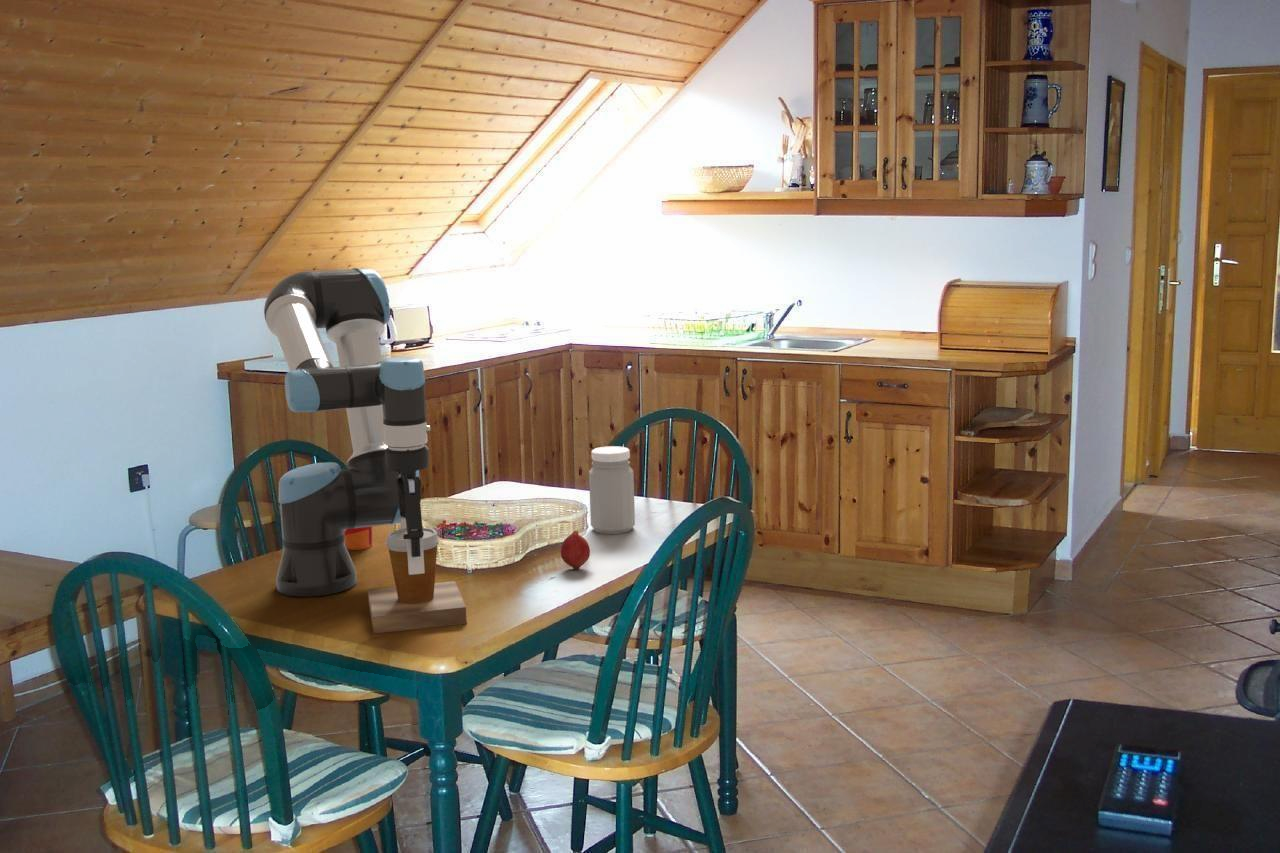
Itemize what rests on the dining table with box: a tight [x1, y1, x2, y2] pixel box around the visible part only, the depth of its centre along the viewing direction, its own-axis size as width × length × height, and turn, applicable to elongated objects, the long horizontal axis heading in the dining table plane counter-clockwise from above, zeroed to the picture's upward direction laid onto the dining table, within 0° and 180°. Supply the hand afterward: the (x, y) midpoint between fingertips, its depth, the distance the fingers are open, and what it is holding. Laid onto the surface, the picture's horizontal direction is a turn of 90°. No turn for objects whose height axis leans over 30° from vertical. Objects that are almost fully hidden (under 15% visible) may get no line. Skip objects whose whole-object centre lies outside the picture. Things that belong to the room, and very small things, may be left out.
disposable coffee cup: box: [384, 527, 441, 604], centre depth 232 cm, size 10×10×12 cm
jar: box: [588, 445, 636, 535], centre depth 286 cm, size 10×10×18 cm
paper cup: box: [344, 526, 373, 551], centre depth 278 cm, size 8×8×14 cm
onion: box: [560, 529, 591, 570], centre depth 258 cm, size 6×6×8 cm
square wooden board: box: [367, 580, 468, 634], centre depth 233 cm, size 16×16×3 cm
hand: (413, 562), depth 232 cm, fingers open, 13 cm apart
